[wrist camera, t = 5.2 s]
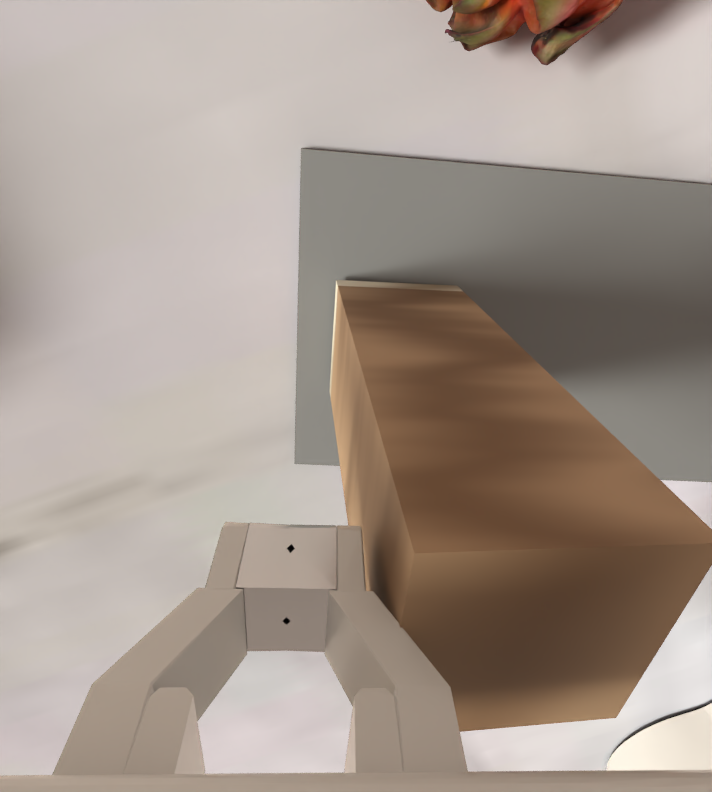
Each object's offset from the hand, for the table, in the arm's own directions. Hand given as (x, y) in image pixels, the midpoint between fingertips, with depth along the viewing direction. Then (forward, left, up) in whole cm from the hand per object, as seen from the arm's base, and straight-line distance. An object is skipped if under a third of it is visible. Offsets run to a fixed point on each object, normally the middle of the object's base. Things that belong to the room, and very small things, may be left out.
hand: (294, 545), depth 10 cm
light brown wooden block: (-3, 0, -12) cm, 12 cm away
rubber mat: (-11, 0, -12) cm, 17 cm away
